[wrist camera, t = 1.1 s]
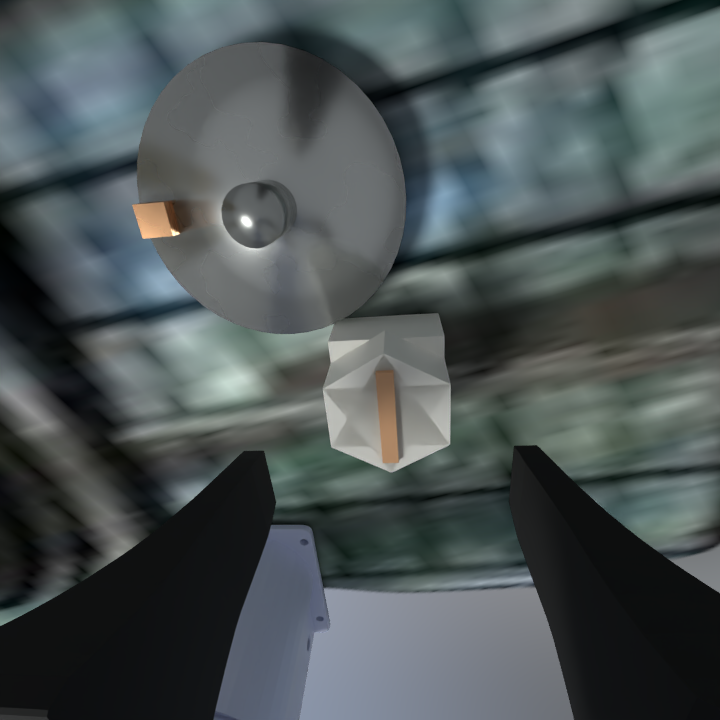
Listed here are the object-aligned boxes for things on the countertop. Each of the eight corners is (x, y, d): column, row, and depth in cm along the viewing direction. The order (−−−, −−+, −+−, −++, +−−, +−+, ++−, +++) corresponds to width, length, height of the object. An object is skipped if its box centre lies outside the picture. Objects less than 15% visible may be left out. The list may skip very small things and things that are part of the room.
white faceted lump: (439, 407, 20) (450, 475, 16) (347, 410, 20) (334, 477, 16) (438, 305, 17) (451, 352, 13) (335, 311, 18) (316, 359, 14)
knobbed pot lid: (410, 318, 18) (413, 350, 15) (190, 331, 19) (153, 362, 16) (399, 30, 13) (400, -3, 11) (114, 67, 15) (46, 46, 12)
